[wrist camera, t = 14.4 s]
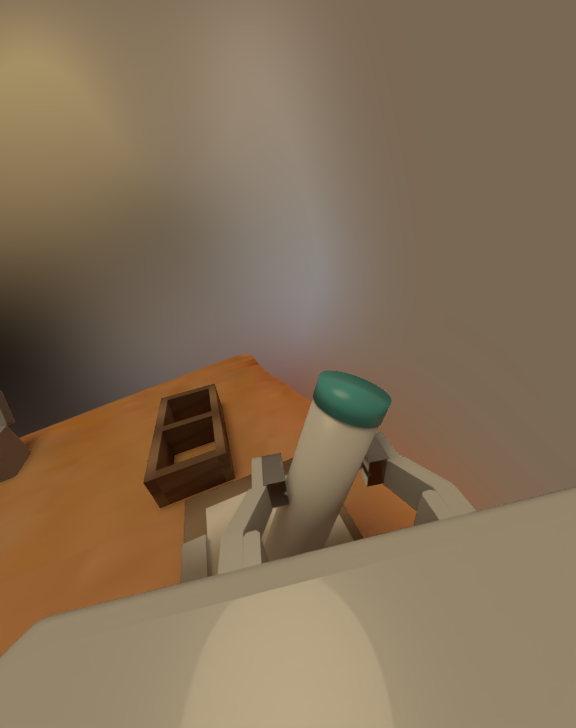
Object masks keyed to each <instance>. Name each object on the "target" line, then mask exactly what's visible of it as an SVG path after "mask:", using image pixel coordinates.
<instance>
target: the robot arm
mask: <svg viewBox="0 0 576 728" xmlns="http://www.w3.org/2000/svg"><path fill="white" fill-rule="evenodd" d="M360 469H361V475H362V477H363V479H364V481H365V483H366V485H367V487H368V486H373V485H378V484H384V485H385V486H386V487H387V488H388V489H390V490H391V491H392V492H393V493H395V494H396V495H397V496H398V497H400V498H401V499H402V500H403V501H405V502H406V503H407V504H408V505H410V506H411V507H412V508H413V509H415V510H416V511H417V513H416V517H415V520H414V526H413V527H409V528H405V529H400V530H396V531H392V532H388V533H384V534H380V535H376V536H372V537H368V538H364V539H360V540H356V541H352V542H347V543H343V544H339V545H335V546H331V547H327V548H323V549H319V550H315V551H311V552H307V553H303V554H299V555H295V556H291V557H287V558H282V559H278V560H274V561H270V562H269V560H268V557H267V554H266V551H265V548H264V544H263V541H262V536H263V533H264V531H265V528H266V525H267V523H268V520H269V518H270V515H271V513H272V510H273V509H272V508H276V507H280V506H284V505H288V504H289V499H288V493H287V486H286V480H285V474H284V468H283V462H282V457H281V453H278V454H273V455H267V456H262V457H256V458H252V461H251V471H252V489H249V490H248V492H247V493H246V495H245V497H244V499H243V500H242V502H241V504H240V505H239V507H238V509H237V511H236V512H235V514H234V516H233V518H232V519H231V521H230V523H229V524H228V526H227V528H226V530H225V531H224V533H223V535H222V537H221V544H220V554H219V565H218V574H217V575H213V576H209V577H205V578H201V579H197V580H193V581H189V582H185V583H181V584H176V585H172V586H168V587H164V588H160V589H156V590H152V591H148V592H144V593H140V594H136V595H132V596H127V597H123V598H119V599H115V600H111V601H107V602H103V603H99V604H95V605H91V606H87V607H83V608H79V609H74V610H70V611H66V612H62V613H58V614H54V615H51V616H48V617H45V618H43V619H41V620H39V621H38V622H36V623H35V624H33V625H32V626H31V627H30V628H29V629H28V630H27V631H26V632H25V633H24V634H23V635H22V636H21V637H20V638H19V639H18V640H17V641H16V642H15V643H14V644H13V645H12V646H11V647H10V648H9V649H8V650H7V651H6V652H5V653H4V654H3V655H2V656H1V657H0V728H576V487H572V488H568V489H564V490H559V491H556V492H551V493H547V494H543V495H539V496H535V497H531V498H527V499H523V500H519V501H515V502H511V503H507V504H502V505H498V506H494V507H491V508H487V509H482V510H478V511H476V510H475V509H474V508H473V507H472V506H471V504H470V503H469V502H468V501H467V500H466V499H465V497H464V496H463V495H462V494H461V493H460V492H459V490H458V489H457V488H456V487H455V486H454V484H452V483H451V482H449V481H447V480H445V479H443V478H441V477H440V476H438V475H436V474H434V473H433V472H431V471H429V470H427V469H425V468H424V467H422V466H420V465H418V464H416V463H414V462H413V461H411V460H409V459H407V458H405V457H404V456H399V454H398V453H397V451H396V450H395V449H394V447H393V446H392V445H391V443H390V442H389V440H388V439H387V438H386V436H385V435H384V434H383V433H382V432H379V433H375V435H374V438H373V440H372V442H371V444H370V446H369V449H368V451H367V453H366V455H365V457H364V460H363V462H362V464H361V466H360Z"/></svg>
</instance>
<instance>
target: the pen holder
mask: <svg viewBox="0 0 576 728" xmlns="http://www.w3.org/2000/svg"><path fill="white" fill-rule="evenodd" d="M209 411H211V412H209ZM206 412H207V413H206ZM203 413H204V414H203ZM199 414H201V415H199ZM196 415H198V416H196ZM193 416H194V417H193ZM190 417H191V418H190ZM186 418H188V419H186ZM183 419H185V420H183ZM180 420H182V421H180ZM177 421H178V422H177ZM212 441H215V446H216V450H213V451H210V452H207V453H204V454H202V455H199V456H196V457H193V458H190V459H188V460H185V461H182V462H179V463H176V464H173V462H174V454H177V453H180V452H183V451H186V450H189V449H192V448H195V447H198V446H200V445H203V444H206V443H209V442H212ZM234 478H235V476H234V471H233V466H232V460H231V455H230V450H229V444H228V439H227V434H226V428H225V423H224V417H223V412H222V407H221V403H220V399H219V396H218V393H217V390H216V387H215V384H212V385H208V386H204V387H201V388H197V389H194V390H190V391H187V392H183V393H179V394H176V395H172V396H169V397H165V398H162V399H161V402H160V407H159V412H158V416H157V421H156V426H155V431H154V435H153V440H152V445H151V449H150V454H149V459H148V464H147V468H146V473H145V478H144V482H143V483H144V484H145V486H146V487H147V489H148V490H149V492H150V493H151V495H152V496H153V498H154V499H155V501H156V502H157V504H158V505H159V507H163V506H165V505H168V504H170V503H173V502H175V501H178V500H181V499H183V498H186V497H188V496H191V495H193V494H196V493H198V492H201V491H203V490H206V489H208V488H211V487H213V486H216V485H218V484H221V483H224V482H226V481H229V480H231V479H234Z"/></svg>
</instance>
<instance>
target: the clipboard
mask: <svg viewBox="0 0 576 728" xmlns="http://www.w3.org/2000/svg"><path fill="white" fill-rule="evenodd" d="M292 460H293V458H292V459H289V460H287V461H284V462H283V468H284V474H285V480H286V478H287V475H288V472H289V469H290V466H291V463H292ZM249 489H252V475H249V476H247V477H244V478H242V479H239V480H237V481H234V482H232V483H229V484H227V485H224V486H222V487H219V488H217V489H214V490H211V491H209V492H206V493H204V494H201V495H199V496H196V497H194V498H191V499H189V500H186V501H185V521H184V544H182V553H181V580H180V584H181V583H185V582H189V581H193V580H197V579H201V578H205V577H209V576H213V575H217V574H218V565H219V554H220V544H221V537H222V535H223V533H224V531H225V530H226V528H227V526H228V524H229V523H230V521H231V519H232V518H233V516H234V514H235V512H236V511H237V509H238V507H239V505H240V504H241V502H242V500H243V499H244V497H245V495H246V493H247V492H248V490H249ZM272 509H273V510H272V513H271V515H270V518H269V520H268V523H267V525H266V528H265V531H264V533H263V536H262V541H263V544H264V545H265V542H266V539H267V536H268V533H269V530H270V527H271V524H272V521H273V518H274V515H275V512H276V509H277V507H276V508H272ZM360 539H364V538H363V537H362V535H361V533H360V532H359V530H358V528H357V527H356V525H355V523H354V522H353V520H352V518H351V517H350V515H349V513H348V512H347V510H346V508H345V507H344V505H343V506H342V508H341V510H340V512H339V514H338V517H337V519H336V521H335V523H334V525H333V528H332V530H331V532H330V534H329V536H328V539H327V541H326V543H325V545H324V547H323V548H327V547H331V546H335V545H339V544H343V543H347V542H352V541H356V540H360Z"/></svg>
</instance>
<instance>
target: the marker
mask: <svg viewBox="0 0 576 728" xmlns="http://www.w3.org/2000/svg"><path fill="white" fill-rule="evenodd" d="M390 404H391V398H390V396H389V395H388V394H387V393H386V392H385V391H384V390H383V389H381V388H380V387H378V386H376V385H374V384H373V383H371V382H369V381H367V380H365V379H362V378H360V377H357V376H354V375H351V374H348V373H343V372H338V371H324V372H322V373H320V375H319V378H318V381H317V384H316V387H315V390H314V393H313V400H312V403H311V406H310V409H309V412H308V415H307V418H306V421H305V424H304V427H303V430H302V433H301V436H300V439H299V442H298V445H297V448H296V451H295V454H294V457H293V460H292V463H291V466H290V469H289V472H288V475H287V478H286V486H287V493H288V499H289V504H288V505H284V506H280V507H277V509H276V512H275V515H274V518H273V521H272V524H271V527H270V530H269V533H268V536H267V539H266V542H265V545H264V548H265V551H266V554H267V557H268V560H269V562H270V561H274V560H278V559H282V558H287V557H291V556H295V555H299V554H303V553H307V552H311V551H315V550H319V549H323V547H324V545H325V543H326V541H327V539H328V536H329V534H330V532H331V530H332V528H333V525H334V523H335V521H336V519H337V517H338V514H339V512H340V510H341V508H342V506H343V503H344V501H345V499H346V497H347V495H348V493H349V490H350V488H351V486H352V484H353V482H354V479H355V477H356V475H357V473H358V471H359V468H360V466H361V464H362V462H363V460H364V457H365V455H366V453H367V451H368V449H369V446H370V444H371V442H372V440H373V438H374V435H375V433H376V431H377V429H378V427H379V426H380V425H381V423H382V421H383V419H384V417H385V415H386V412H387V410H388V408H389V406H390Z"/></svg>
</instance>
